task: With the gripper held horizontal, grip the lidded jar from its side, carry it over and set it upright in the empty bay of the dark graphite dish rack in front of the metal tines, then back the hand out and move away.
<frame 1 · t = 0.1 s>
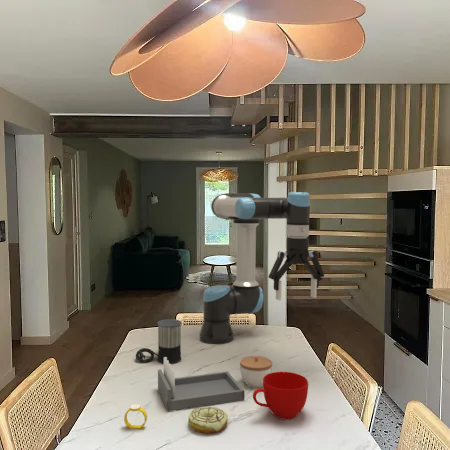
hand: (296, 298, 152), 28 cm above the table, tool pointing down, fingers open, 13 cm apart
decorated donut: (208, 426, 121), on the table
ceramic cup: (279, 416, 127), on the table
lidded jar: (255, 384, 148), on the table
milk frother: (158, 360, 170), on the table
dish rack: (200, 394, 140), on the table
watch: (135, 428, 120), on the table
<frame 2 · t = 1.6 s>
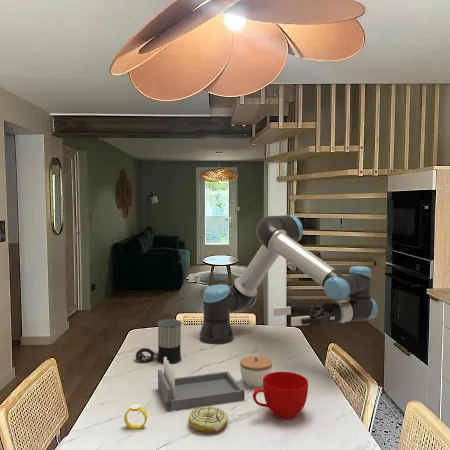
hand: (282, 316, 150), 22 cm above the table, tool horizontal, fingers open, 13 cm apart
nothing on the table moved.
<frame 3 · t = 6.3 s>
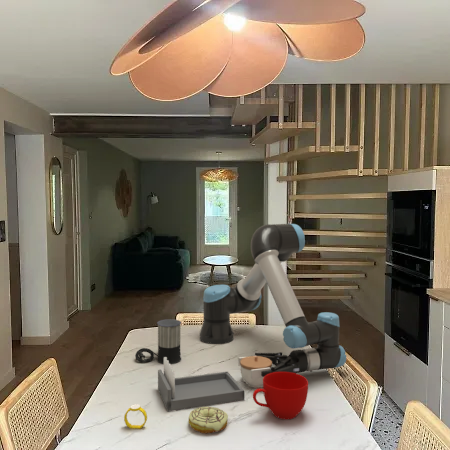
hand: (244, 367, 147), 6 cm above the table, tool horizontal, fingers closed on lidded jar, 11 cm apart
lidded jar: (255, 384, 148), on the table, touching gripper
everything else where it was.
when the fingers open (8 cm above the table, at t = 12.4 s): lidded jar drops 1 cm, resting on dish rack.
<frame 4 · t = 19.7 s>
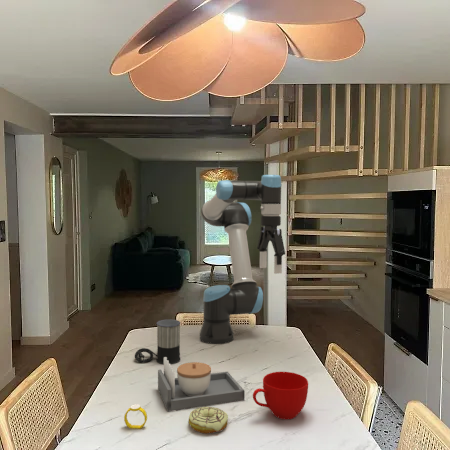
hand: (270, 270, 170), 35 cm above the table, tool pointing down, fingers open, 13 cm apart
lidded jar: (194, 392, 139), point 1 cm above the table, touching dish rack
everything else where it was.
at the end: lidded jar inside the target area on the dish rack (0.0 cm from its centre), point 0.8 cm above the dish rack's base; lidded jar tilted 0°; the gripper is holding nothing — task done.
